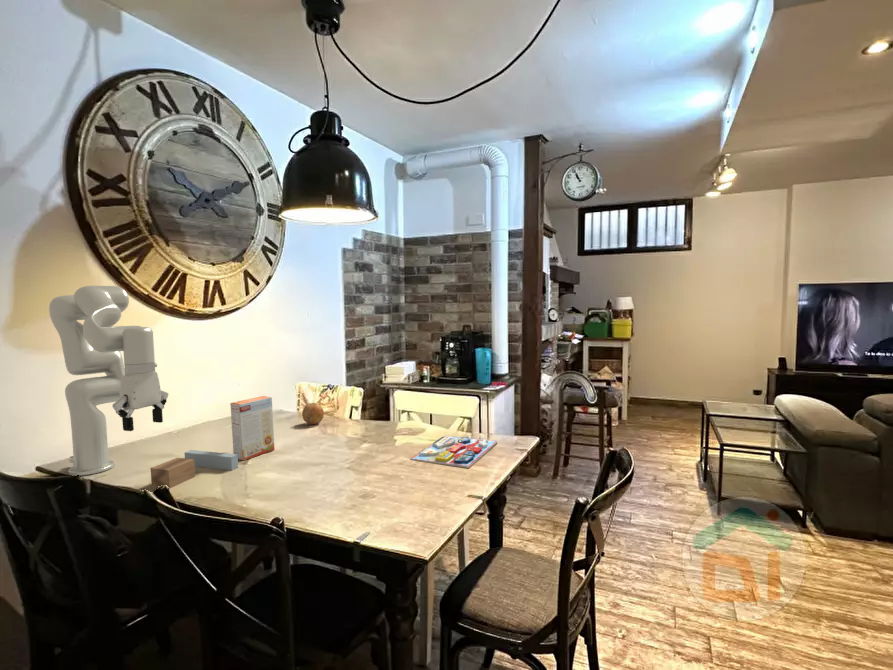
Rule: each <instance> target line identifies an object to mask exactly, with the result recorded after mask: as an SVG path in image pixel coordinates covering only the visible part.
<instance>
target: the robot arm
mask: <svg viewBox="0 0 893 670" xmlns="http://www.w3.org/2000/svg"><path fill="white" fill-rule="evenodd" d="M129 303H130V298H129V295H128V292H127V291H126V290H125V289H124V288H122V287H120V286H118V285H84V286H81V287H79V288H78V289H76V290H75V292H74V293H73V294H69V295H59V296H56V297H54V298H52V299H51V301H50V303H49V306H48V307H49V308H48V311H49V318H50V320H51V323H52V324H53V326H54V328H55V331H57V333H58V335H59V338H60V341H61V342H60V343H61V347H62V348H61V349H62V352H63V357H64V363H65V367H66V368H65V369H66V370H67V373H69V374H70V375H72V376H85V375H95V374H96V375H97V374H102V373H103V374H105V375H104V376H103V375H101V376H93V377H86V378H81V379H75V380H73V381H72V380H71V382H69V383H68V384H67V385H66V386H65V389H64V395H65V400H66V402H67V406H68V411H69V415H70V416H69V417H70V426H71V439H72V455H73V457H72V458H69V459H68V462H69V463H72V467H69V469H68V474H69V475H70V476H75V475H79V476H87V475H89V476H90V475H94V474H98V473H103V472H105V471H108V470H111V469H112V468H113V467H114V466H115V461H114V460H111V459H109V446H108V445H109V443H108V430H107V429H108V427H107V419H106V415H105V414H104V413H103V412H102V411H101V410H100V409H99V408H98V407H97V406H100V405H103V404H109V403H110V404H111V403H113V404H112V408H113V409H114V411H115V414H117V415H118V416H119V417H120V418H121V421H122V429H123V431H124V432H133V431H134V429H135V428H134V418H133V416H132V415H133V413H134V412H135V410H140V409H144V408H147V407H153V408H152V411H151V412H152V413H151V414H152V422H153V423H163V422H164V420H163V419H164V417H163V410H164V409H165V405H166V403H167V399H168V397H169V393H168V392H166V391H163V390H161V383H160V379H159V375H158V373H157V371H156V368H157V367H158V363H156V362H155V361H156V360H155V358H156V357H155V345H154V331H153V329H152V328H151V327H147V326H141V325H120V326H119V325H116V324H117V323H119V321H120V319H121V317H122V313H123V312H124V311H125V310H126V309H127V308H128V307H129V305H130V304H129ZM79 321H83V323H81V322H79ZM114 325H116V326H114ZM121 352H123V355H122V353H121ZM79 476H78V477H79Z"/></svg>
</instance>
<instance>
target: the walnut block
mask: <svg viewBox="0 0 893 670" xmlns="http://www.w3.org/2000/svg"><path fill="white" fill-rule="evenodd" d="M195 477H196V466H195V463H194V459H186V458H185V457H175V458H173V459H170V460H168V461H165V462H163V463H159V464H158V465H157V464H156V465H155V466H153V467H150V481H151V483H150V484H151V487H152V486H153V487H154V488H159V487H158V486H161V485H167V486H168V487H169V488H170V489H171V488H174V487H177V486H179V485H181V484H183V483H185V482H187V481H189V480H192V479H194V478H195ZM169 488H168V489H169Z"/></svg>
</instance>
